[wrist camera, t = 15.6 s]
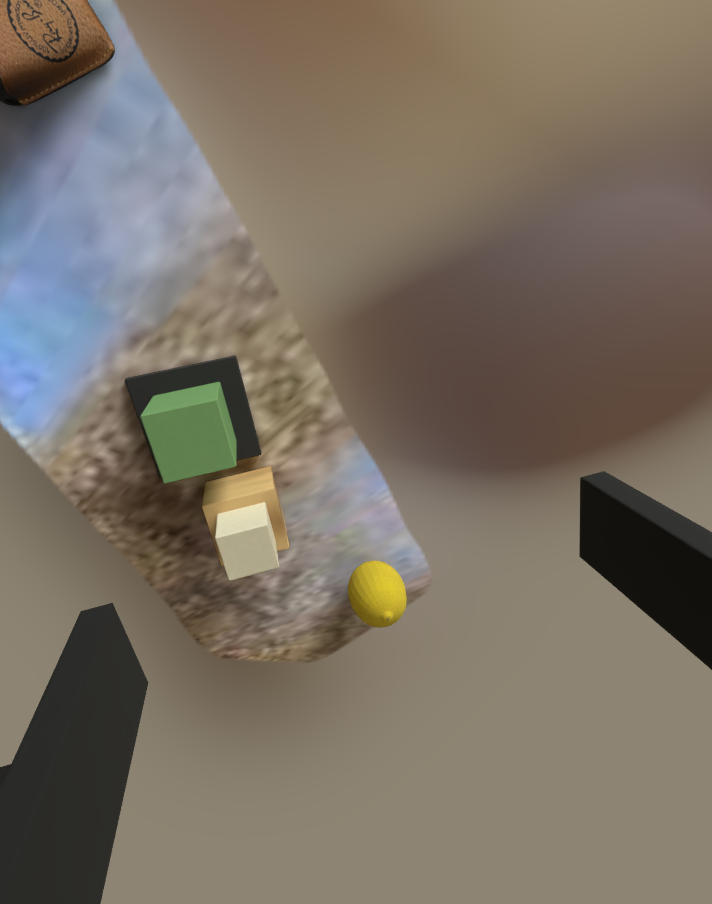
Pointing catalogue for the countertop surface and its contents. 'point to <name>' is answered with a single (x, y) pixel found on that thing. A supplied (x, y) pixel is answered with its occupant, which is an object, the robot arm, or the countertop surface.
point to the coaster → (199, 375)
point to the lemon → (377, 594)
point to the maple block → (245, 501)
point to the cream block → (246, 541)
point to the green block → (190, 432)
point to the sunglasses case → (48, 47)
